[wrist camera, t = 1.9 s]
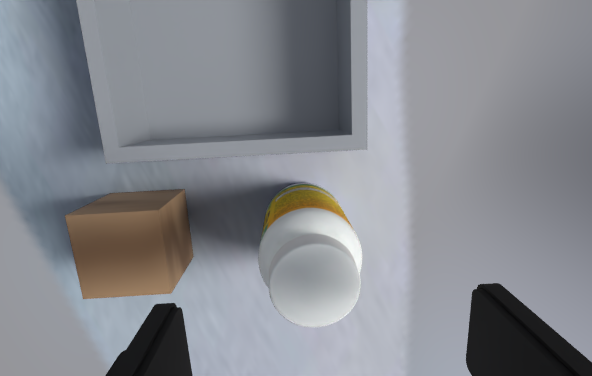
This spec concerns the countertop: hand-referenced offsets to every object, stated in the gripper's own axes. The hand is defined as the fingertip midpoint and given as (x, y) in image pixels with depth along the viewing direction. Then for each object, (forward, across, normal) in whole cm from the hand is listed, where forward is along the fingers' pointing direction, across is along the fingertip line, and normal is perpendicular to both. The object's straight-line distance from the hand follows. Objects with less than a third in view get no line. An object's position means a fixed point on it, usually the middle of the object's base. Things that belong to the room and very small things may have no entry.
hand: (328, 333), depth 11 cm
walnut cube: (+13, +11, +1) cm, 17 cm away
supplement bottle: (+14, 0, +1) cm, 14 cm away
